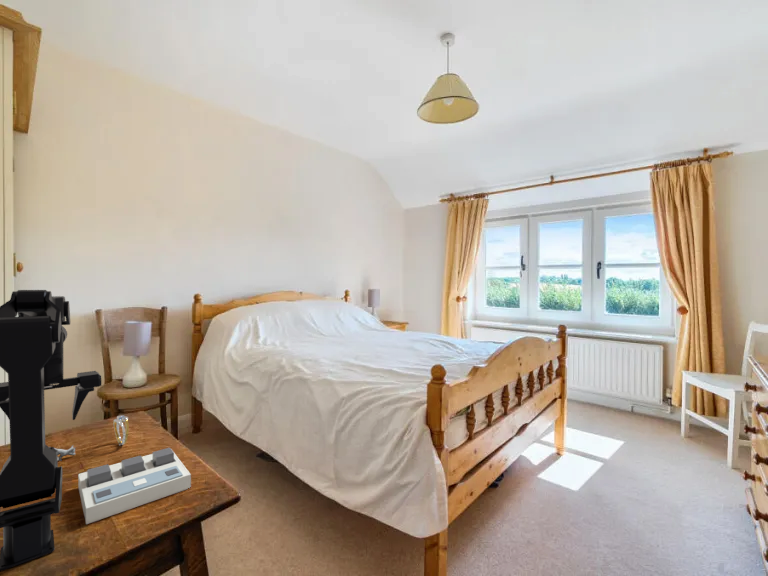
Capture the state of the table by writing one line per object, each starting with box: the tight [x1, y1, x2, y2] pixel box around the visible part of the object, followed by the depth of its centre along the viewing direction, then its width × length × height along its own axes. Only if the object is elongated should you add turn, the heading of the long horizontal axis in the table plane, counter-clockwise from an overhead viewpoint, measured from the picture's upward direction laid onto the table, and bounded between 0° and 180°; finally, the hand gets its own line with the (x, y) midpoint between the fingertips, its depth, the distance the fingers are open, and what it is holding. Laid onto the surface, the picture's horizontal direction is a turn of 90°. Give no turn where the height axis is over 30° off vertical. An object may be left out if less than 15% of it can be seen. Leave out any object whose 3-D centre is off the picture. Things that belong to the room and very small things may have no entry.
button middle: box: [121, 454, 144, 477], centre depth 82 cm, size 4×4×3 cm
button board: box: [77, 448, 192, 525], centre depth 81 cm, size 16×18×3 cm
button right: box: [152, 447, 175, 467], centre depth 86 cm, size 4×4×3 cm
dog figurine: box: [54, 444, 76, 462], centre depth 92 cm, size 3×6×4 cm
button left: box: [86, 464, 111, 487], centre depth 78 cm, size 4×4×3 cm
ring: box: [112, 414, 130, 446], centre depth 100 cm, size 7×3×8 cm, turn 48°
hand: (46, 424), depth 80 cm, fingers open, 9 cm apart
